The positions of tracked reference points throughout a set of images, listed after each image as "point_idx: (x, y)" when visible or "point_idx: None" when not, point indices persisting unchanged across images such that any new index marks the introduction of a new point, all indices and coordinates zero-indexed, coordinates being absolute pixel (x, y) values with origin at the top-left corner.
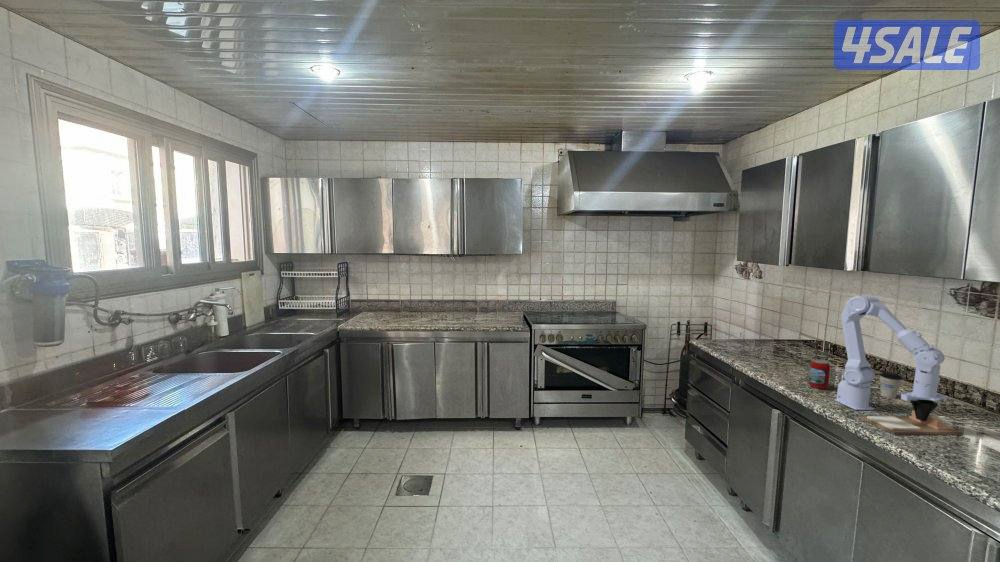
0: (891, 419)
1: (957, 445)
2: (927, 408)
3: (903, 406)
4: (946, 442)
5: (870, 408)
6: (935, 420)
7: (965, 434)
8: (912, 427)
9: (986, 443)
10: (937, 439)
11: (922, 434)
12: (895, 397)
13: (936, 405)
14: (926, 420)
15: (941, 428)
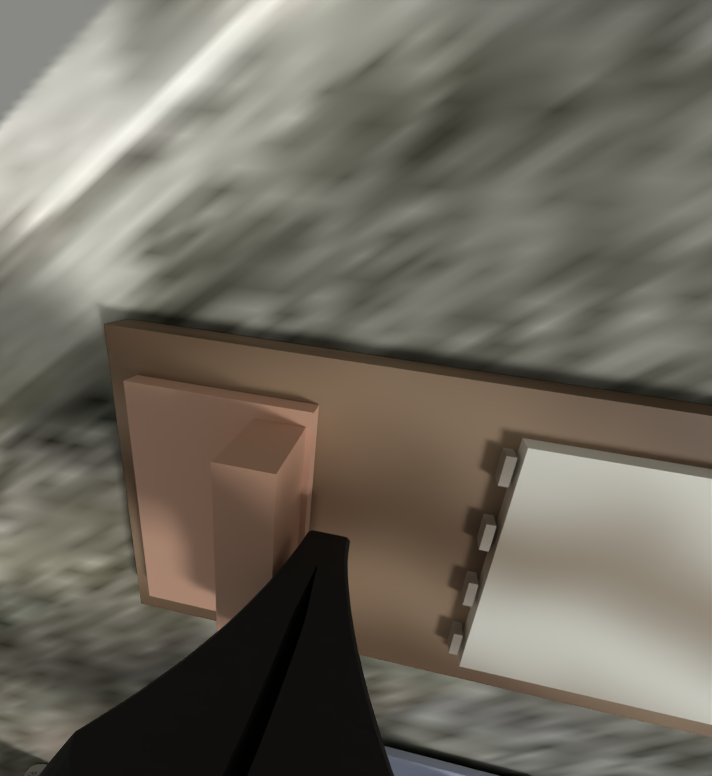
0: (581, 640)
1: (477, 94)
2: (308, 715)
3: (99, 706)
4: (516, 187)
5: (407, 767)
6: (278, 487)
7: (83, 320)
8: (616, 478)
9: (64, 116)
10: (526, 268)
11: (557, 384)
12: (37, 770)
13: (97, 763)
14: (291, 534)
15: (269, 403)
